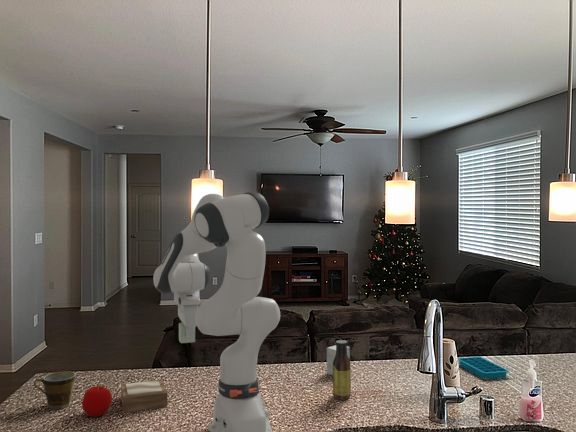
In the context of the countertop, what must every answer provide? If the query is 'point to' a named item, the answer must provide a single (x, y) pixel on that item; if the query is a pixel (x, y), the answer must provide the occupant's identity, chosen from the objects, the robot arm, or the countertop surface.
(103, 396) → the fruit
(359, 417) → the countertop surface
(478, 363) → the ice cube tray
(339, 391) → the sauce bottle
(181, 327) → the block
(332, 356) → the small box
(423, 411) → the countertop surface
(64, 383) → the ceramic cup
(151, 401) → the base
